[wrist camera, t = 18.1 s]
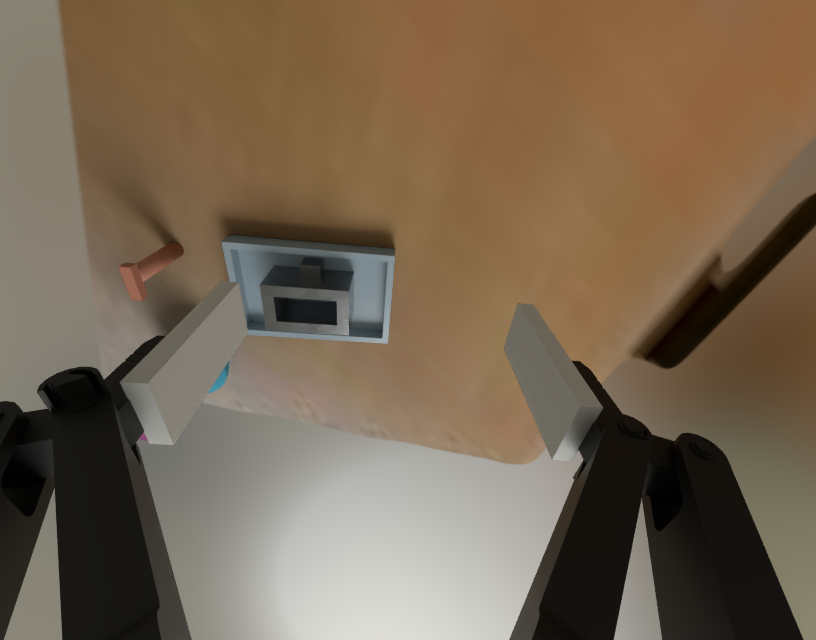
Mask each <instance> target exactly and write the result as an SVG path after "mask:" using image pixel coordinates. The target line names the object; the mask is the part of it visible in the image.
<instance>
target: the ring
mask: <svg viewBox="0 0 816 640" xmlns="http://www.w3.org/2000/svg"><path fill="white" fill-rule="evenodd" d="M259 286H260V293H261V299H262V306H263V312H264V319H265V326H266V330H270V331H285V332H300V333H315V334H331V335H346V336H349V332H350V327H351V323H352V318H353V313H354V272H353V271H341V270H328V269H324V259H319V258H307V257H304V259H303V260H302V262H301V264H300V267H291V266H278V265H274V266H273V268H272V269H271V270H270V272H269V273H268V274H267V275H266V277H265V278H264V279H263V281H262V282H261V283H260V285H259ZM289 298H299V299H312V300H326V301H337V303H334V302H320V301H306V300H293V299H289Z"/></svg>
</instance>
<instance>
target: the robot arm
mask: <svg viewBox="0 0 816 640" xmlns="http://www.w3.org/2000/svg"><path fill="white" fill-rule="evenodd" d="M247 333H248V329H247V323H246V318H245V313H244V308H243V302H242V297H241V292H240V286H239V282H228V281H221V282H220V283H219V284H218V285H217V286H216V287H215V288H214V289H213V290H212V291H211V292H210V293H209V294H208V295H207V296H206V297H205V298H204V299H203V300H202V301H201V302H200V303H199V304H198V305H197V306H196V307H195V308H194V309H193V310H192V311H191V312H190V313H189V314H188V315H187V316H186V317H185V318H184V319H183V320H182V321H181V322H180V323H179V324H178V325H177V326H176V327H175V328H174V329H173V330H172V331H171V332H170V333H169V334H168V335H167V336H156V337H154V338H152V339H150V340H148V341H147V342H145V343H143V344H142V345H141V346H140V347H139V348H138V349H137V350H136V351H135V352H134V354H131V355H130V356H129V357H128V358H127V359H126V361H125V362H123V363H122V364H121V365H120V366H119V367H117V368H116V369H115V370H114V371H113V372H112V373H111V374H110V375H109V376H108V377H107V378H106V379H105V380H104V379H103V377H102V375H101V373H100V372H99V371H98V369H96V368H92V367H77V368H73V369H68V370H65V371H62V372H60V373H57V374H55V375H53V376H51V377H50V378H48V379H46V380H45V381H44V382H43V383H42V384H41V385H40V386H39V388H38V390H37V393H38V395H39V396H40V398H41V399H42V400H43V402H44V403H45V405H46V406H47V408H48V409H43V410H36V411H30V412H24V413H23V411H22V410H21V409H20V407H19V406H18V405H17V404H16V403H14V402H8V401H3V402H0V640H4V637H5V634H6V631H7V628H8V625H9V622H10V619H11V616H12V613H13V610H14V607H15V604H16V601H17V598H18V595H19V592H20V589H21V586H22V582H23V579H24V577H25V574H26V571H27V568H28V565H29V562H30V559H31V556H32V553H33V550H34V547H35V544H36V541H37V538H38V535H39V532H40V529H41V526H42V523H43V519H44V517H45V514H46V511H47V508H48V505H49V502H50V499H51V496H52V493H53V490H54V487H55V499H56V500H55V501H56V521H57V539H58V558H59V559H58V560H59V579H60V599H61V619H62V637H63V638H62V640H191V636H190V633H189V629H188V626H187V622H186V618H185V614H184V611H183V607H182V604H181V600H180V596H179V592H178V589H177V585H176V582H175V578H174V574H173V571H172V567H171V563H170V560H169V556H168V552H167V549H166V545H165V541H164V538H163V534H162V530H161V527H160V523H159V519H158V516H157V512H156V508H155V505H154V501H153V497H152V494H151V490H150V487H149V483H148V479H147V476H146V472H145V469H144V465H143V461H142V457H141V454H140V450H139V447H138V445H137V443H136V441H137V440H138V439H139V438H140V436H141V435H142V434H143V432H144V434H145V436H146V438H147V440H148V442H149V444H169V445H174V443H175V442H176V440H177V439H178V437H179V436H180V434H181V433H182V431H183V430H184V428H185V427H186V425H187V424H188V422H189V420H190V419H191V417H192V416H193V415H194V413H195V412H196V410H197V408H198V407H199V405H200V404H201V402H202V401H203V399H204V398H205V396H206V395H207V393H208V392H209V390H210V389H211V387H212V386H213V384H214V383H215V381H216V380H217V378H218V377H219V375H220V374H221V372H222V371H223V369H224V368H225V366H226V365H227V363H228V362H229V360H230V359H231V357H232V356H233V354H234V352H235V351H236V349H237V348H238V346H239V345H240V343H241V342H242V340H243V339H244V337H245V336H246V334H247ZM504 350H505V353H506V355H507V357H508V360H509V362H510V364H511V366H512V369H513V371H514V373H515V376H516V378H517V380H518V383H519V385H520V387H521V389H522V392H523V394H524V396H525V399H526V401H527V403H528V406H529V408H530V410H531V412H532V415H533V417H534V419H535V422H536V424H537V426H538V429H539V431H540V433H541V435H542V438H543V440H544V442H545V445H546V447H547V449H548V451H549V454H550V456H551V458H552V460H567V461H572V460H573V459H574V457H575V455H576V454H577V452H578V450H579V451H580V453H581V455H582V457H583V459H584V460H583V462H582V463H581V465H580V467H579V468H578V470H577V472H576V473H575V475H574V477H573V479H575V480H574V482H573V485H572V487H571V490H570V492H569V495H568V497H567V500H566V502H565V504H564V507H563V510H562V512H561V514H560V517H559V519H558V521H557V524H556V526H555V529H554V531H553V534H552V537H551V539H550V542H549V544H548V546H547V549H546V551H545V553H544V556H543V558H542V561H541V563H540V566H539V568H538V571H537V573H536V576H535V578H534V581H533V583H532V585H531V588H530V590H529V593H528V595H527V598H526V600H525V603H524V605H523V608H522V610H521V613H520V615H519V617H518V620H517V622H516V625H515V627H514V630H513V632H512V635H511V637H510V640H614V635H615V630H616V625H617V620H618V615H619V610H620V604H621V600H622V594H623V589H624V584H625V579H626V574H627V569H628V564H629V559H630V554H631V549H632V543H633V538H634V534H635V528H636V523H637V519H638V513H639V508H640V503H641V498H642V502H643V509H644V516H645V523H646V529H647V537H648V543H649V551H650V558H651V563H652V571H653V578H654V585H655V592H656V599H657V606H658V613H659V620H660V627H661V634H662V640H803V637H802V635H801V633H800V630H799V628H798V626H797V623H796V621H795V619H794V616H793V614H792V611H791V609H790V607H789V604H788V602H787V599H786V597H785V595H784V592H783V590H782V587H781V586H780V583H779V581H778V578H777V576H776V573H775V571H774V568H773V566H772V564H771V561H770V559H769V557H768V554H767V552H766V549H765V547H764V545H763V542H762V540H761V537H760V535H759V533H758V530H757V528H756V526H755V523H754V521H753V519H752V516H751V514H750V511H749V509H748V507H747V504H746V502H745V499H744V497H743V495H742V492H741V490H740V488H739V485H738V483H737V480H736V478H735V476H734V474H733V471H732V469H731V466H730V464H729V461H728V459H727V457H726V456H725V454H724V453H723V452H722V451H721V450H720V449H719V448H718V447H717V446H716V445H715V444H714V443H712V442H710V441H709V440H707V439H706V438H703V437H701V436H699V435H696V434H691V433H682V434H681V435H680V436H679V437H678V438H677V439H676V440H675V441H672V440H668V439H665V438H662V437H658V436H655V435H652V434H651V432H650V431H649V429H648V428H647V427H646V426H645V425H644V424H643V423H641V422H640V421H638V420H637V419H635V418H633V417H630V416H628V415H625V414H622V413H621V411H620V410H619V408H618V407H617V406H616V404H615V403H614V402H613V400H612V399H611V398H610V396H609V395H608V394H607V392H606V391H605V389H603V388H602V387H603V386H602V385H601V384H600V382H599V381H597V378H596V377H595V375H594V374H593V373H592V371H591V370H590V369H589V368H588V367H586V366H585V365H584V364H582V363H581V362H580V361H571V359H570V358H569V357H568V355H567V354H566V352H565V351H564V349H563V348H562V346H561V345H560V343H559V342H558V340H557V339H556V337H555V336H554V334H553V333H552V331H551V330H550V329H549V327H548V326H547V324H546V323H545V321H544V320H543V318H542V317H541V315H540V314H539V312H538V311H537V309H536V308H535V306H534V305H533V304H520V303H518V305H517V308H516V311H515V314H514V317H513V320H512V324H511V327H510V330H509V333H508V336H507V340H506V343H505V346H504Z"/></svg>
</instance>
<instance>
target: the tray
mask: <svg viewBox="0 0 816 640" xmlns="http://www.w3.org/2000/svg"><path fill="white" fill-rule="evenodd" d="M222 246H223V251H224V256H225V261H226V266H227V271H228V276H229V281H230V282H239V286H240V292H241V297H242V302H243V308H244V313H245V318H246V323H247V329H248V333H247V334H246V335H262V336H277V337H293V338H308V339H324V340H339V341H355V342H371V343H386V344H388V334H389V322H390V310H391V298H392V286H393V274H394V262H395V249H392V248H381V247H369V246H357V245H345V244H334V243H322V242H310V241H299V240H287V239H275V238H263V237H252V236H240V235H230V236H228V237H227V238H226V239H224V240H223V241H222ZM304 257H307V258H319V259H324V269H328V270H341V271H353V272H354V313H353V318H352V323H351V327H350V332H349V336H346V335H331V334H315V333H300V332H285V331H270V330H266V326H265V319H264V312H263V306H262V299H261V293H260V286H259V285H260V283H261V282H262V281H263V279H264V278H265V277H266V275H267V274H268V273H269V272H270V270H271V269H272V268H273V266H274V265H278V266H291V267H300V264H301V262H302V260H303V259H304ZM289 299H293V300H306V301H320V302H334V303H337V301H326V300H312V299H299V298H289Z"/></svg>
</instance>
